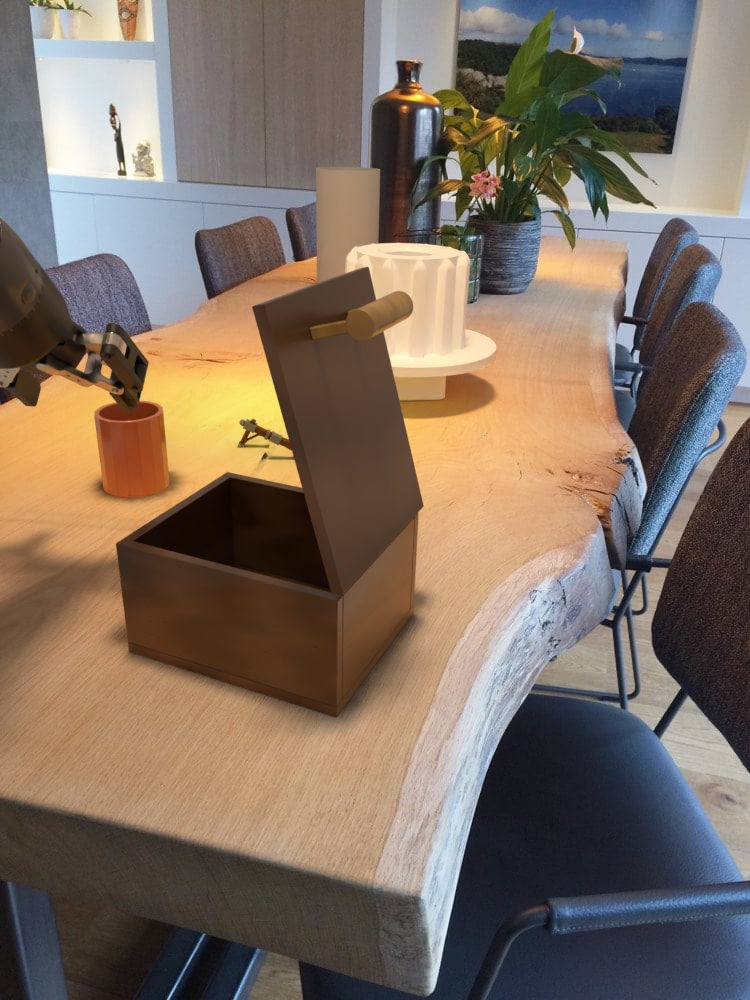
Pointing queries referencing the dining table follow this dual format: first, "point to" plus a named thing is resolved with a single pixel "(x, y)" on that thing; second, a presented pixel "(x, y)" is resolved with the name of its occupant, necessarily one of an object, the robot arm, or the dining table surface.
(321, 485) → the lid
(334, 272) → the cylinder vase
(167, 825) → the dining table surface
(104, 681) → the dining table surface
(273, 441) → the toy mortar
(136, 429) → the cup
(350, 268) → the flanged gear
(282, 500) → the chest
